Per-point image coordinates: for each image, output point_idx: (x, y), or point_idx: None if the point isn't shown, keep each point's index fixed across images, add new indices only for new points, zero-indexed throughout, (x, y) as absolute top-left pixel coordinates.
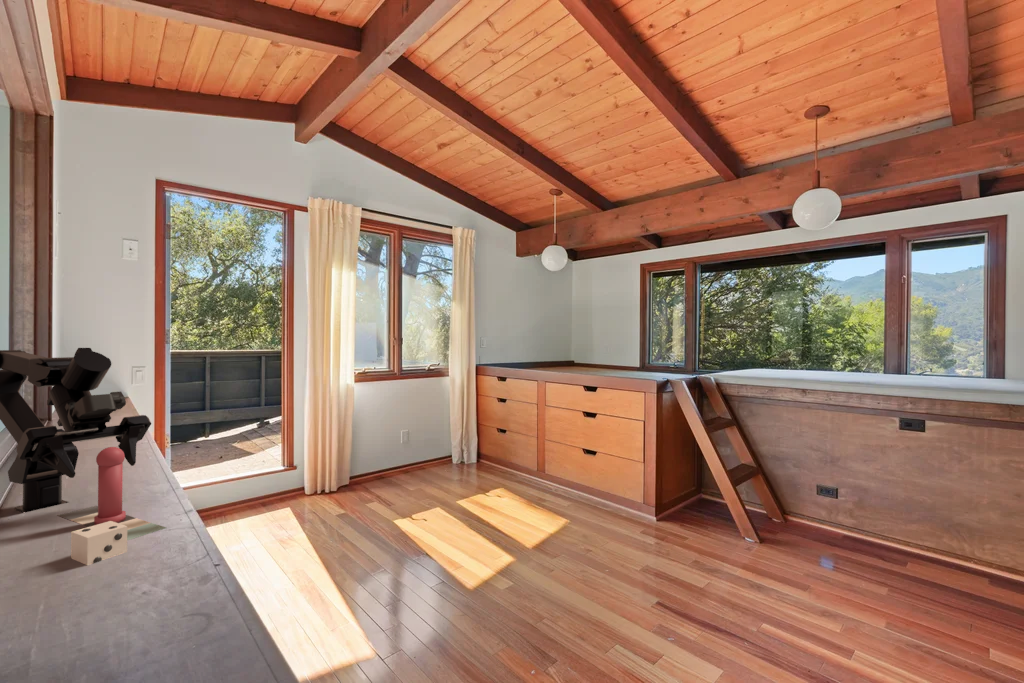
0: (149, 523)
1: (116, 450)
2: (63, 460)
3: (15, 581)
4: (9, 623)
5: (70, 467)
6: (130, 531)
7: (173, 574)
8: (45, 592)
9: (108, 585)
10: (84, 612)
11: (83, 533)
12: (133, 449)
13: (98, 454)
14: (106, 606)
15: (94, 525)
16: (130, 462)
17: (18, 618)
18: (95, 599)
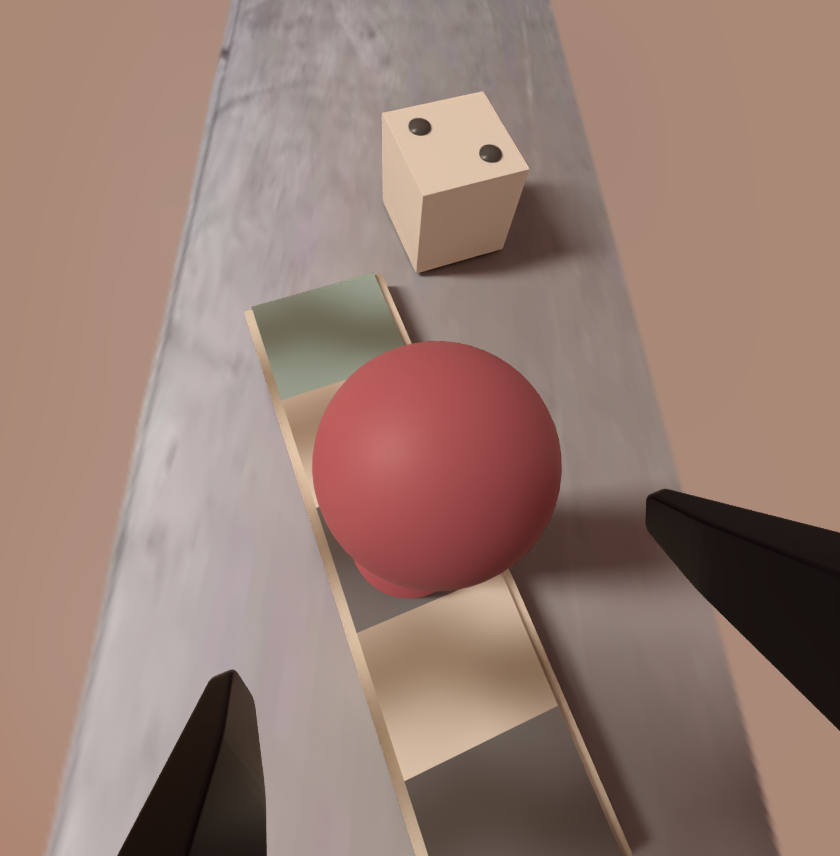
0: (288, 395)
1: (390, 364)
2: (837, 538)
3: (603, 241)
4: (567, 68)
5: (719, 515)
6: (356, 350)
7: (311, 67)
8: (533, 145)
9: (426, 100)
10: (463, 31)
11: (495, 131)
12: (148, 846)
13: (554, 429)
14: (432, 28)
15: (469, 181)
16: (249, 731)
17: (557, 75)
18: (448, 62)
